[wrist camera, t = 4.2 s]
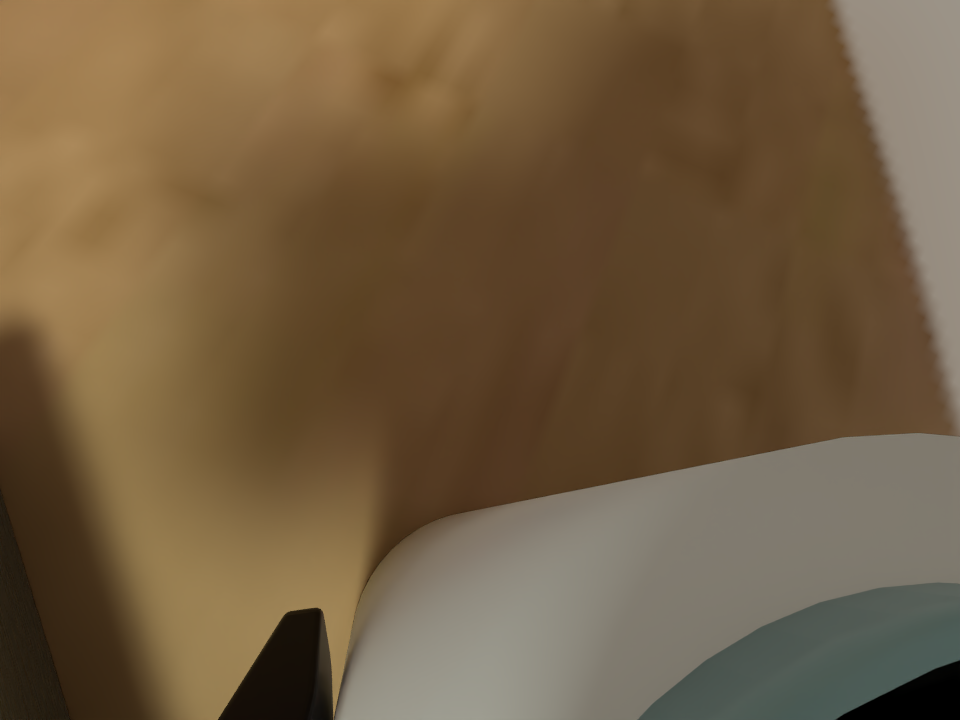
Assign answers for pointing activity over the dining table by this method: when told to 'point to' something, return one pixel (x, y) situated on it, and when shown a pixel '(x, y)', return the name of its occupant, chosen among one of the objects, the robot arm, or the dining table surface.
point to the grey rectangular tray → (23, 643)
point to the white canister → (682, 597)
